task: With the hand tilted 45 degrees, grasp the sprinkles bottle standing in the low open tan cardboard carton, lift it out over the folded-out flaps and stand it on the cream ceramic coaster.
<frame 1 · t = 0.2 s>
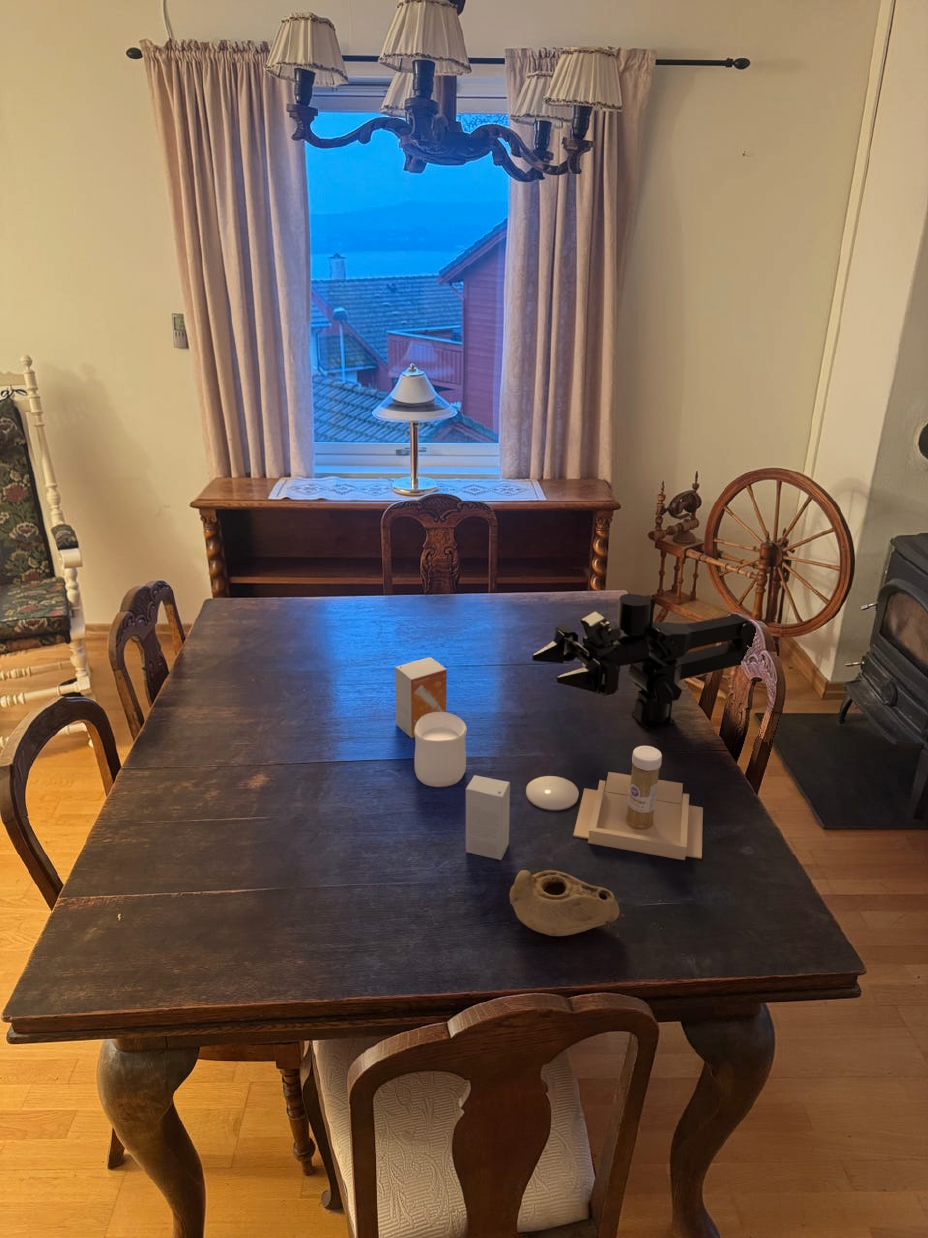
hand: (544, 668, 153), 17 cm above the table, tool horizontal, fingers open, 9 cm apart
cup: (439, 773, 152), on the table
coaster: (552, 794, 146), on the table
skincare box: (486, 849, 133), on the table
small box: (421, 727, 166), on the table
sprinkles bottle: (639, 822, 139), resting on carton
oil lamp: (562, 922, 119), on the table
carton: (639, 822, 139), on the table
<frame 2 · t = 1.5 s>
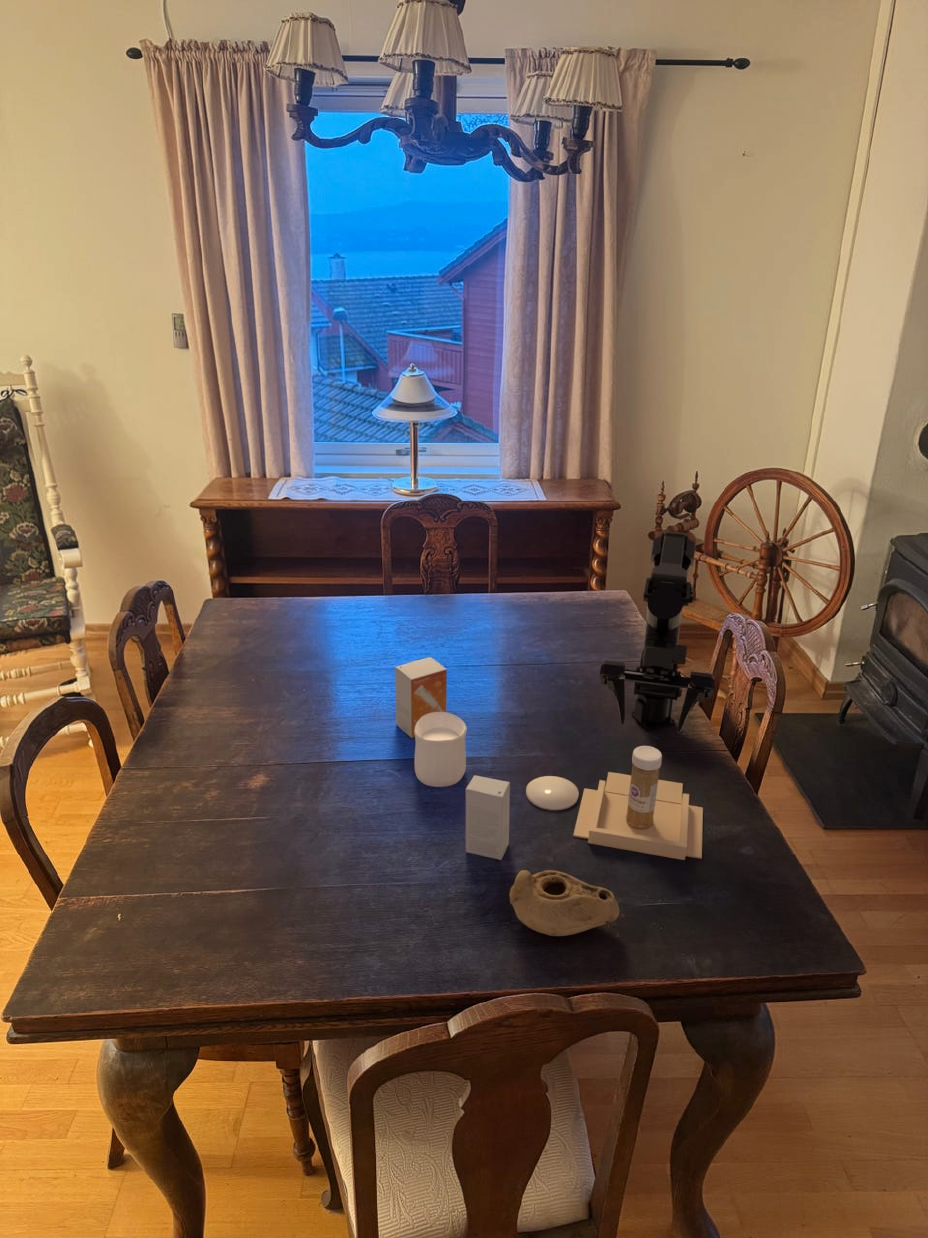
hand: (650, 728, 141), 13 cm above the table, tool tilted 45°, fingers open, 9 cm apart
nothing on the table moved.
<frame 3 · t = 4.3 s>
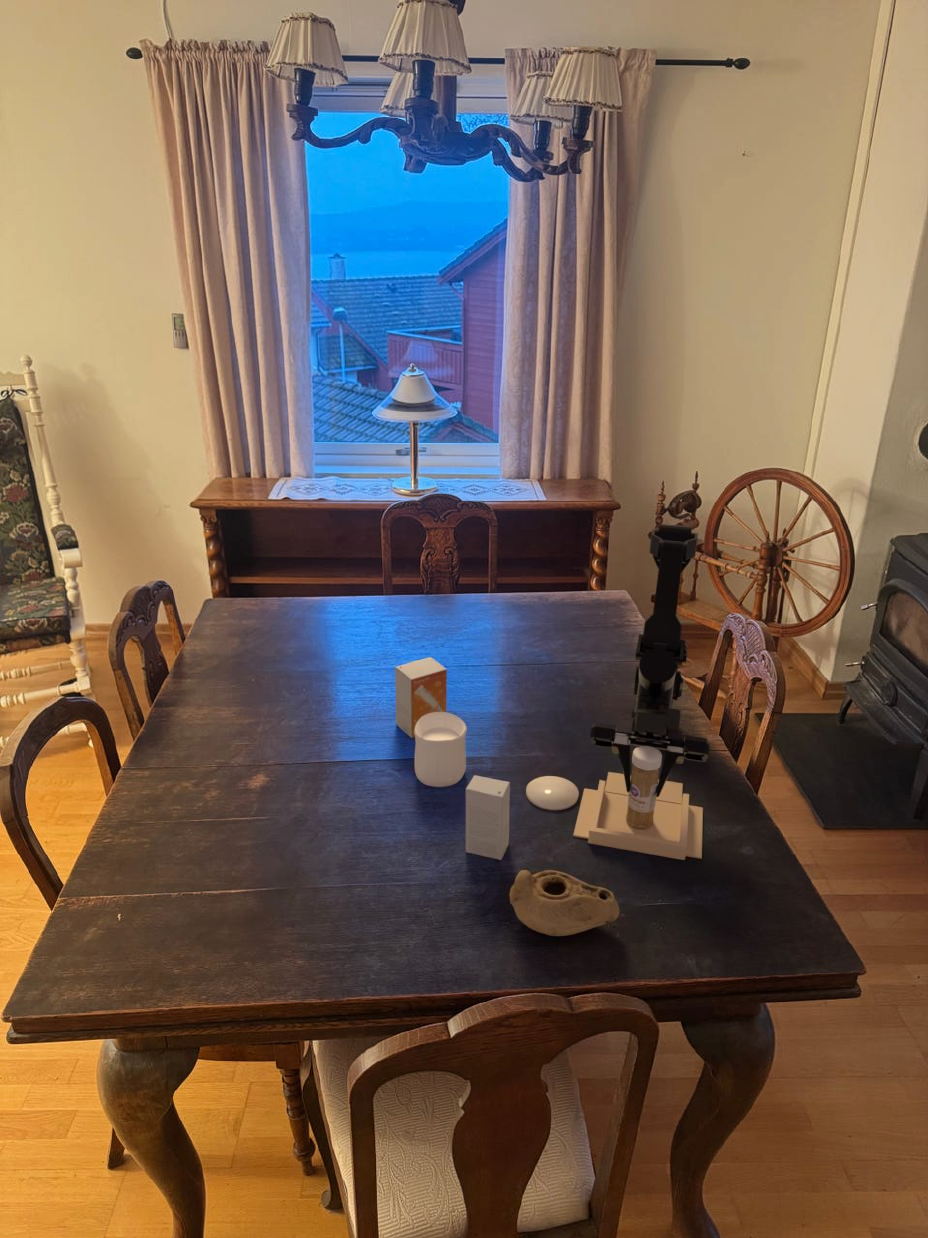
hand: (642, 794, 135), 7 cm above the table, tool tilted 45°, fingers closed on sprinkles bottle, 4 cm apart
sprinkles bottle: (639, 822, 139), resting on carton, touching gripper
everything else where it was.
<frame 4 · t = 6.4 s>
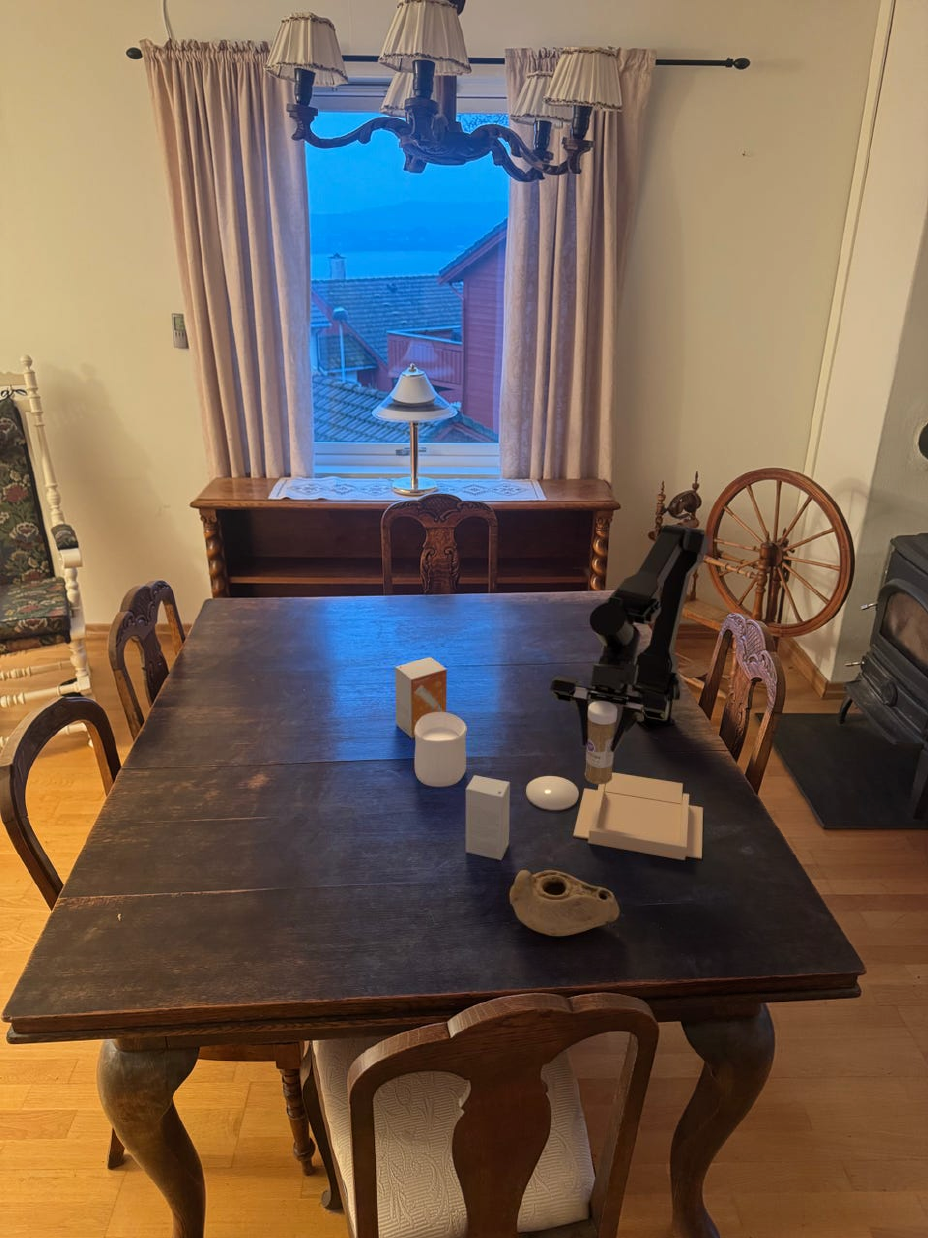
hand: (598, 748, 135), 13 cm above the table, tool tilted 45°, fingers closed on sprinkles bottle, 4 cm apart
sprinkles bottle: (598, 778, 139), point 7 cm above the table, touching gripper
everything else where it was.
when the fingers open (7 cm above the table, at t = 8.8 s): sprinkles bottle stays where it is, resting on coaster.
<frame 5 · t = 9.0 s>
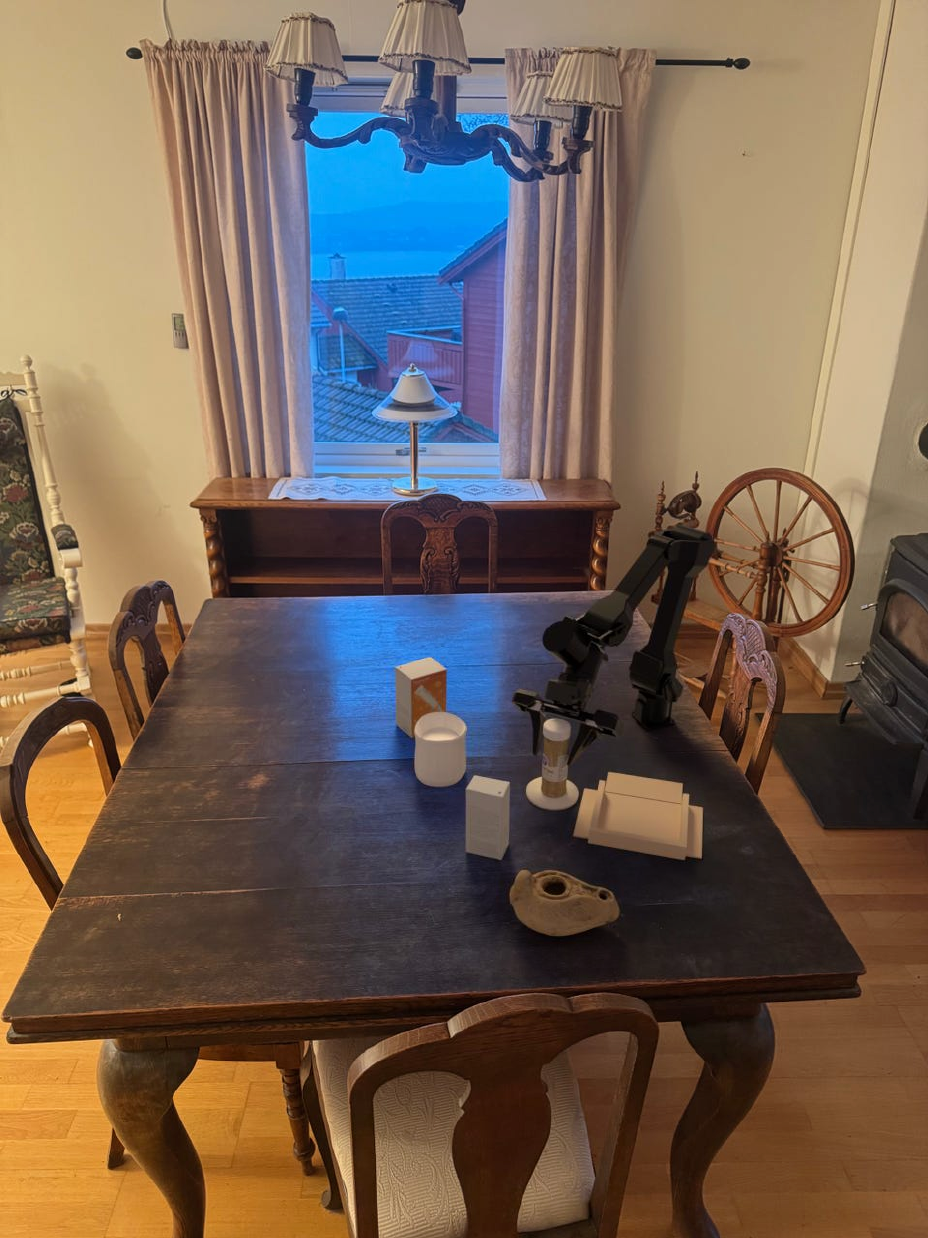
hand: (551, 760, 142), 8 cm above the table, tool tilted 45°, fingers open, 6 cm apart
sprinkles bottle: (553, 792, 146), resting on coaster
everything else where it was.
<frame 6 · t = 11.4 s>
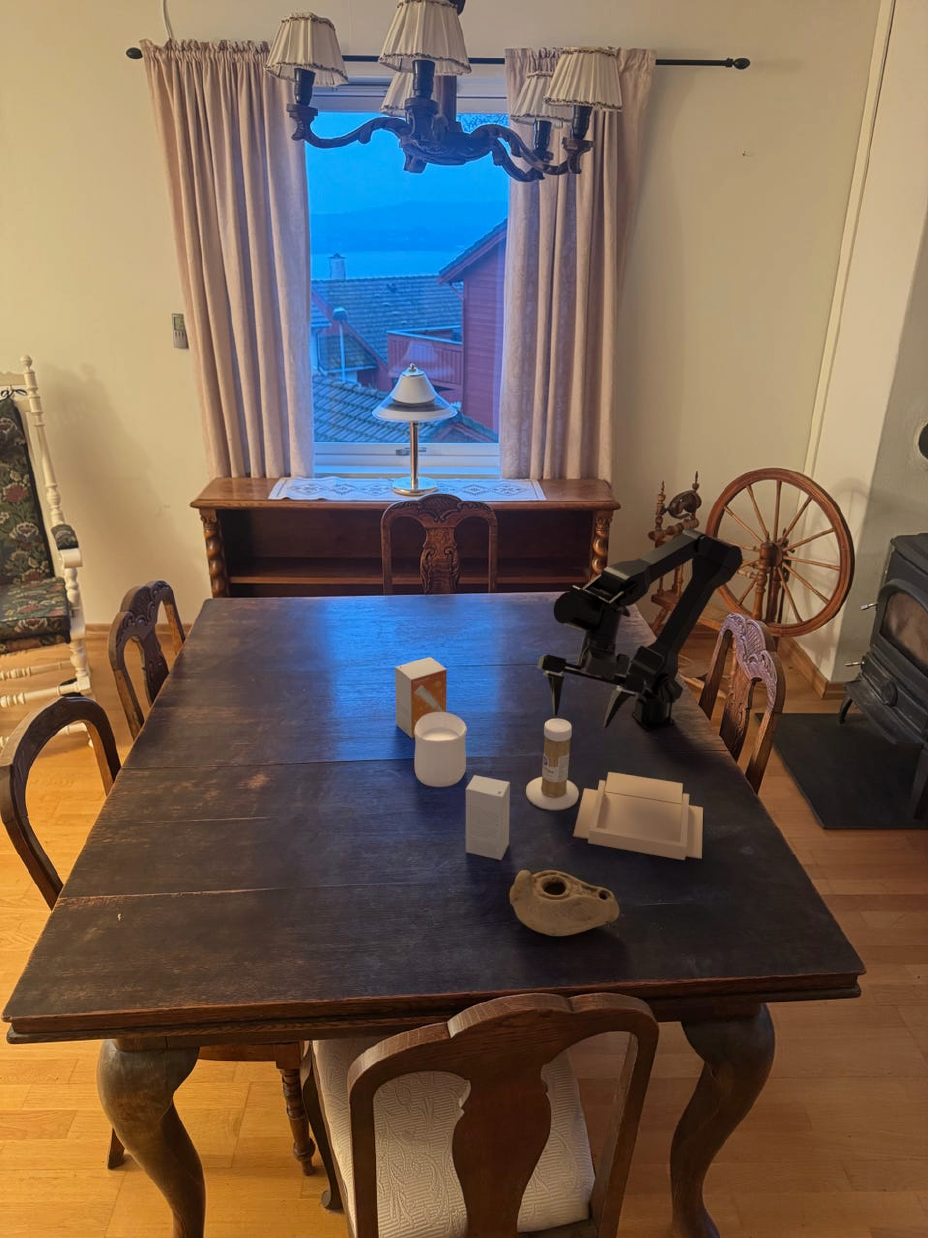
hand: (580, 721, 150), 10 cm above the table, tool tilted 30°, fingers open, 9 cm apart
nothing on the table moved.
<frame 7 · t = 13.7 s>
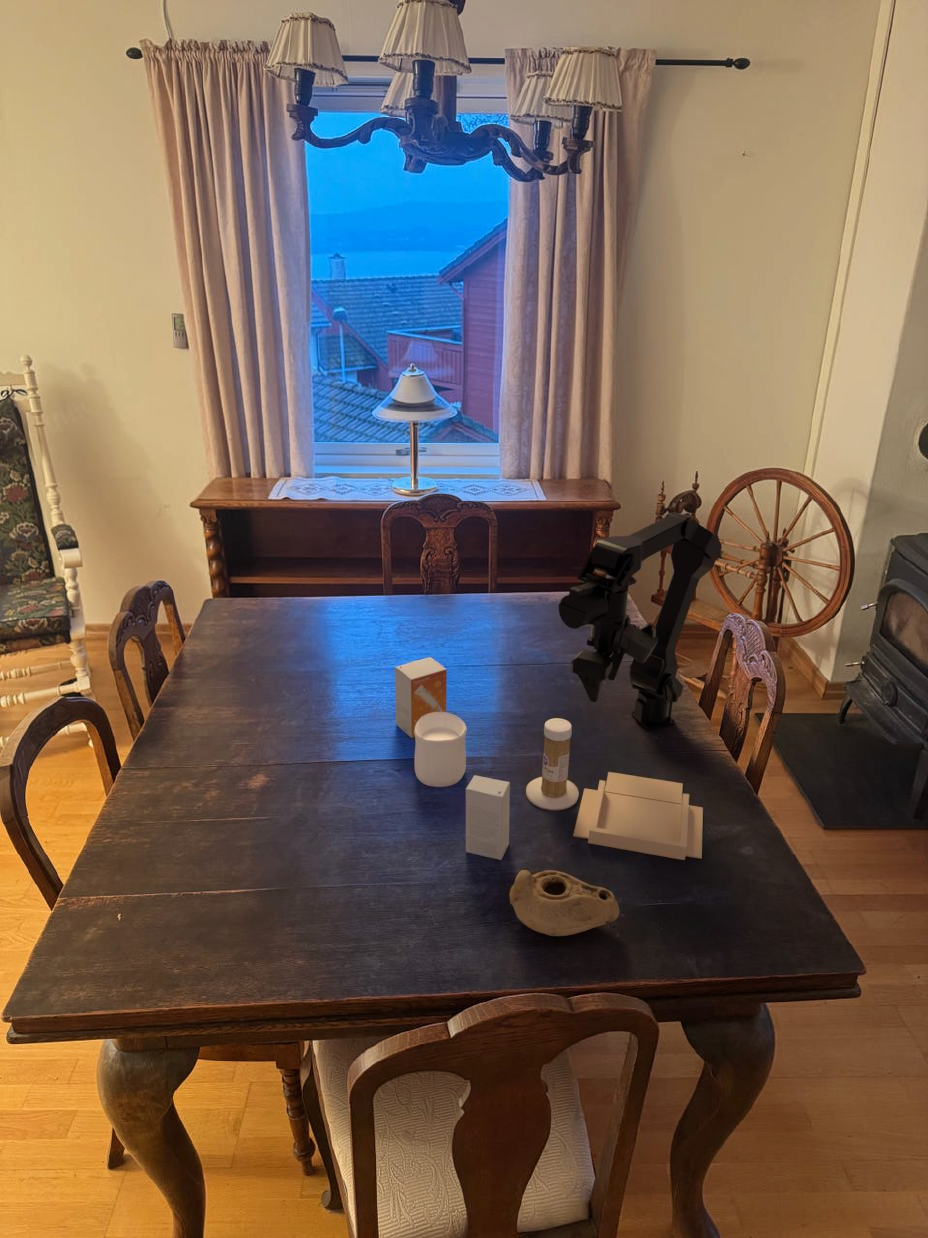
hand: (602, 690, 153), 13 cm above the table, tool pointing down, fingers open, 9 cm apart
nothing on the table moved.
at the end: sprinkles bottle inside the target area on the coaster (0.3 cm from its centre), point 0.4 cm above the coaster's base; sprinkles bottle tilted 0°; the gripper is holding nothing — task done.
